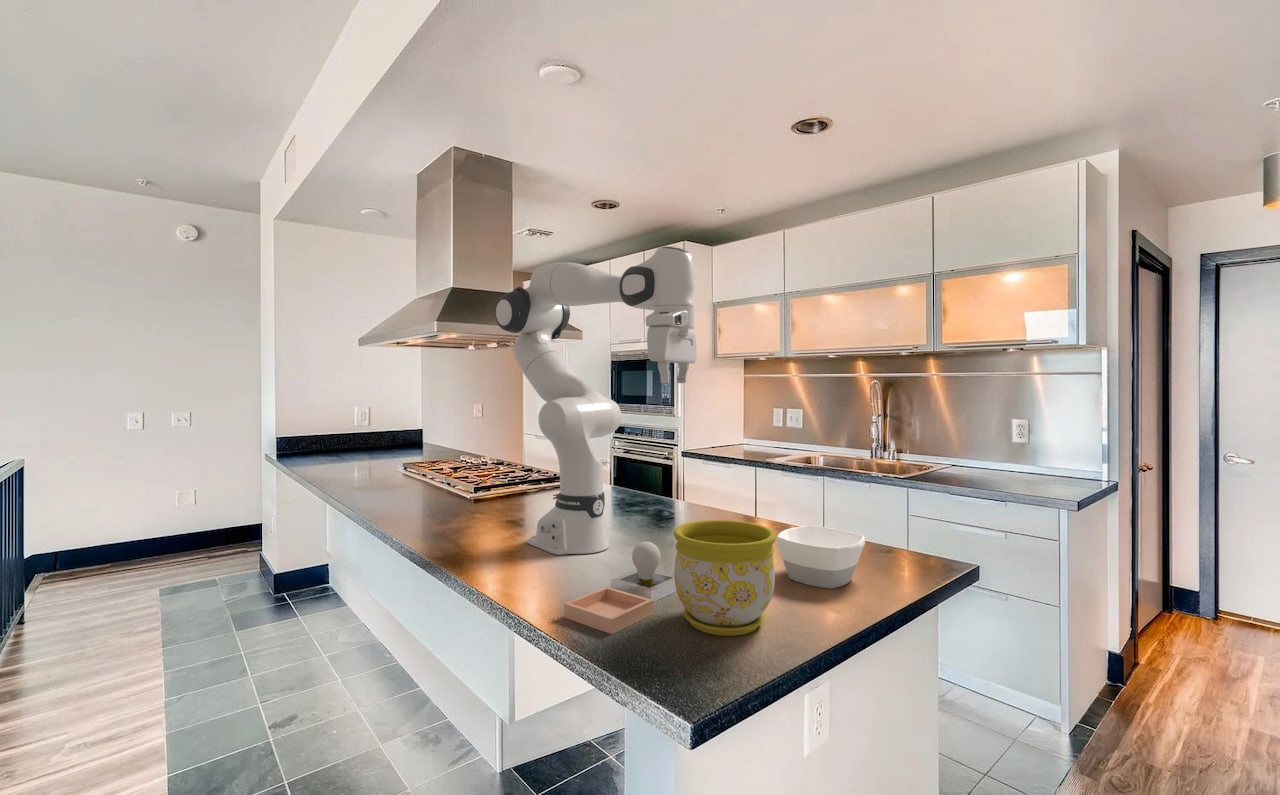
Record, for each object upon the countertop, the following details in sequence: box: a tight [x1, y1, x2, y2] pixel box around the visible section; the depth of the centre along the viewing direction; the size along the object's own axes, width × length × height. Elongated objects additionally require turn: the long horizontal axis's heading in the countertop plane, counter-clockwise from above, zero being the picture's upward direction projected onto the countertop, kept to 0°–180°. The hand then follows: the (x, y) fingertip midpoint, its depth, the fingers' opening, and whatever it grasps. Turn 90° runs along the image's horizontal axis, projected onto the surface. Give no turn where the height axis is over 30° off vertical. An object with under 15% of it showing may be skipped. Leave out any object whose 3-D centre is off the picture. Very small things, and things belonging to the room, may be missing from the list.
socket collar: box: [610, 569, 677, 603], centre depth 125 cm, size 10×10×2 cm
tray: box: [563, 586, 654, 635], centre depth 111 cm, size 12×12×3 cm
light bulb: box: [631, 541, 662, 588], centre depth 124 cm, size 6×6×10 cm
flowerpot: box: [673, 519, 777, 637], centre depth 108 cm, size 18×18×16 cm
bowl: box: [775, 525, 866, 590], centre depth 132 cm, size 18×18×9 cm
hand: (673, 383), depth 134 cm, fingers open, 8 cm apart
